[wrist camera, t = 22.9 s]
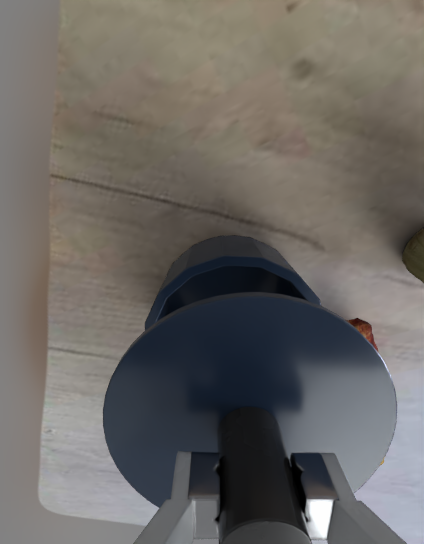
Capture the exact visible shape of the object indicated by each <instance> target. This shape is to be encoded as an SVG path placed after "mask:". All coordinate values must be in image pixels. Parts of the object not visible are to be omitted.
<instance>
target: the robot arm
mask: <svg viewBox="0 0 424 544" xmlns="http://www.w3.org/2000/svg"><path fill="white" fill-rule="evenodd" d="M290 464H291V468H292V472H293V476H294V479H295V483H296V487H297V490H298V494H299V498H300V502H301V505H302V509H303V513H304V516H305V520H306V524H307V527H308V531H309V535H310V538H311V540H326V541H328V544H407V543H406V542H405V541H404V540H402V539H401V538H400V537H399V536H398V535H397V534H396V533H395V532H394V531H393V530H392V529H391V528H390V527H389V526H387V525H386V524H385V523H384V522H383V521H382V520H381V519H380V518H379V517H378V516H377V515H376V514H375V513H374V512H372V511H371V510H370V509H369V508H368V507H367V506H366V505H365V504H364V503H363V502H362V501H357V500H356V498H355V496H354V494H353V492H352V489H351V487H350V485H349V483H348V481H347V478H346V476H345V474H344V472H343V470H342V467H341V465H340V463H339V461H338V459H337V456H336V455H335V454H334V453H318V452H305V453H291V455H290ZM219 514H220V477H219V453H217V452H186V451H178V453H177V456H176V463H175V471H174V478H173V485H172V493H171V499H166V500H165V502H164V503H163V504H162V506H161V507H160V508H159V510H158V511H157V512H156V514H155V515H154V517H153V518H152V519H151V521H150V522H149V523H148V525H147V526H146V527H145V529H144V530H143V532H142V533H141V534H140V535H139V537H138V538H137V539H136V541H135V542H134V543H133V544H192V543H193V539H219V517H218V515H219Z"/></svg>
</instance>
